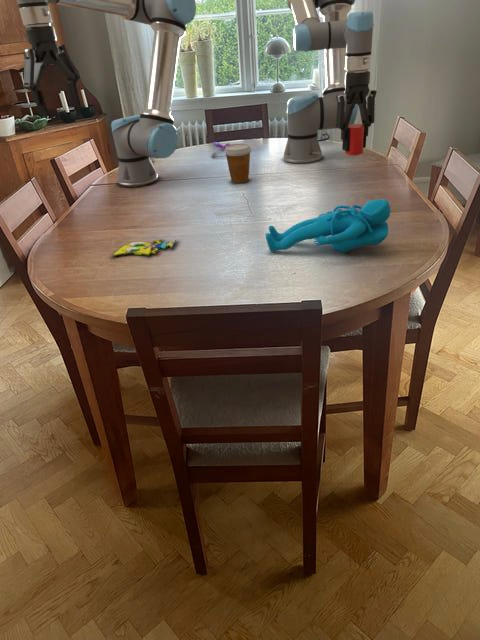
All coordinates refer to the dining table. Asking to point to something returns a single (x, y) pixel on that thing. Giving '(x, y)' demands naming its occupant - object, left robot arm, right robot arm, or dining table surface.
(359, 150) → the can
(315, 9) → the right robot arm
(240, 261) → the dining table surface
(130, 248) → the toy
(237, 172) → the disposable coffee cup
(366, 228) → the toy
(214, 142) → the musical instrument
